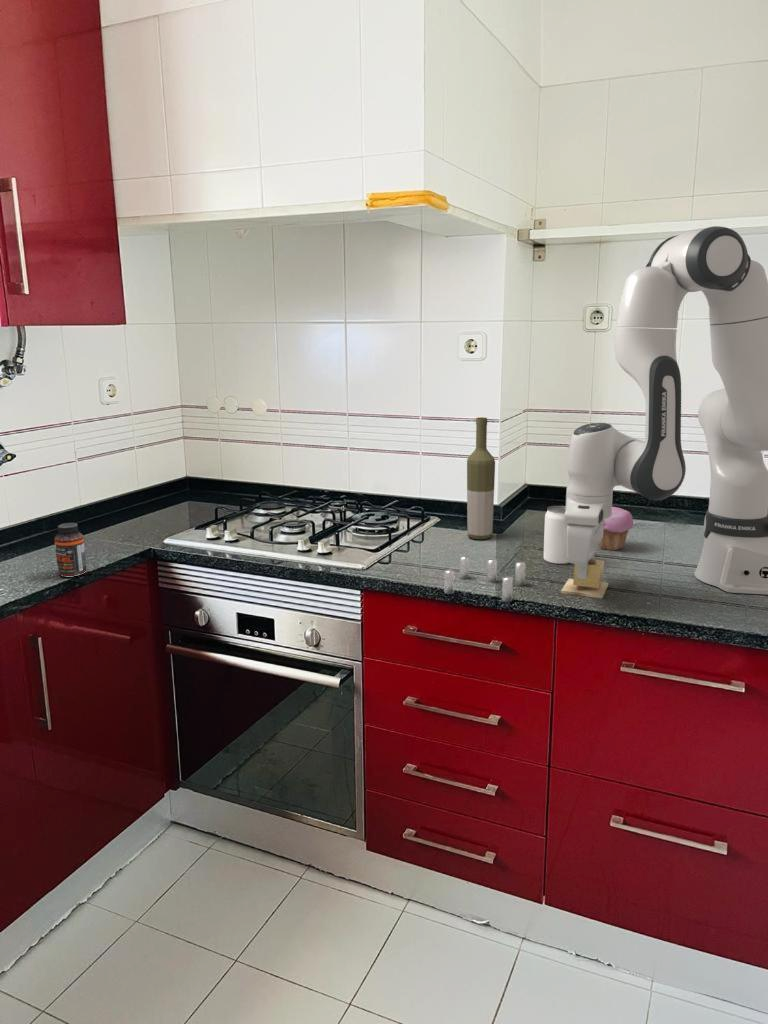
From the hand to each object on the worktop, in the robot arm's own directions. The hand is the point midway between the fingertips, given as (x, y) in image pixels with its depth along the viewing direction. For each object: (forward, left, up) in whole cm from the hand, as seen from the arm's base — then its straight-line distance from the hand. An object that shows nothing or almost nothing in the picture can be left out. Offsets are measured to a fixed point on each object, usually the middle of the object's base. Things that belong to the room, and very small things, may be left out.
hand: (585, 573), depth 158 cm
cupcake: (-1, -32, -4) cm, 32 cm away
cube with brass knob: (-1, 0, -2) cm, 2 cm away
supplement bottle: (+106, +30, -4) cm, 110 cm away
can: (+9, -18, -4) cm, 20 cm away
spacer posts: (+19, +6, -4) cm, 20 cm away
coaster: (0, 0, -4) cm, 4 cm away
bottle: (+31, -30, -4) cm, 43 cm away
